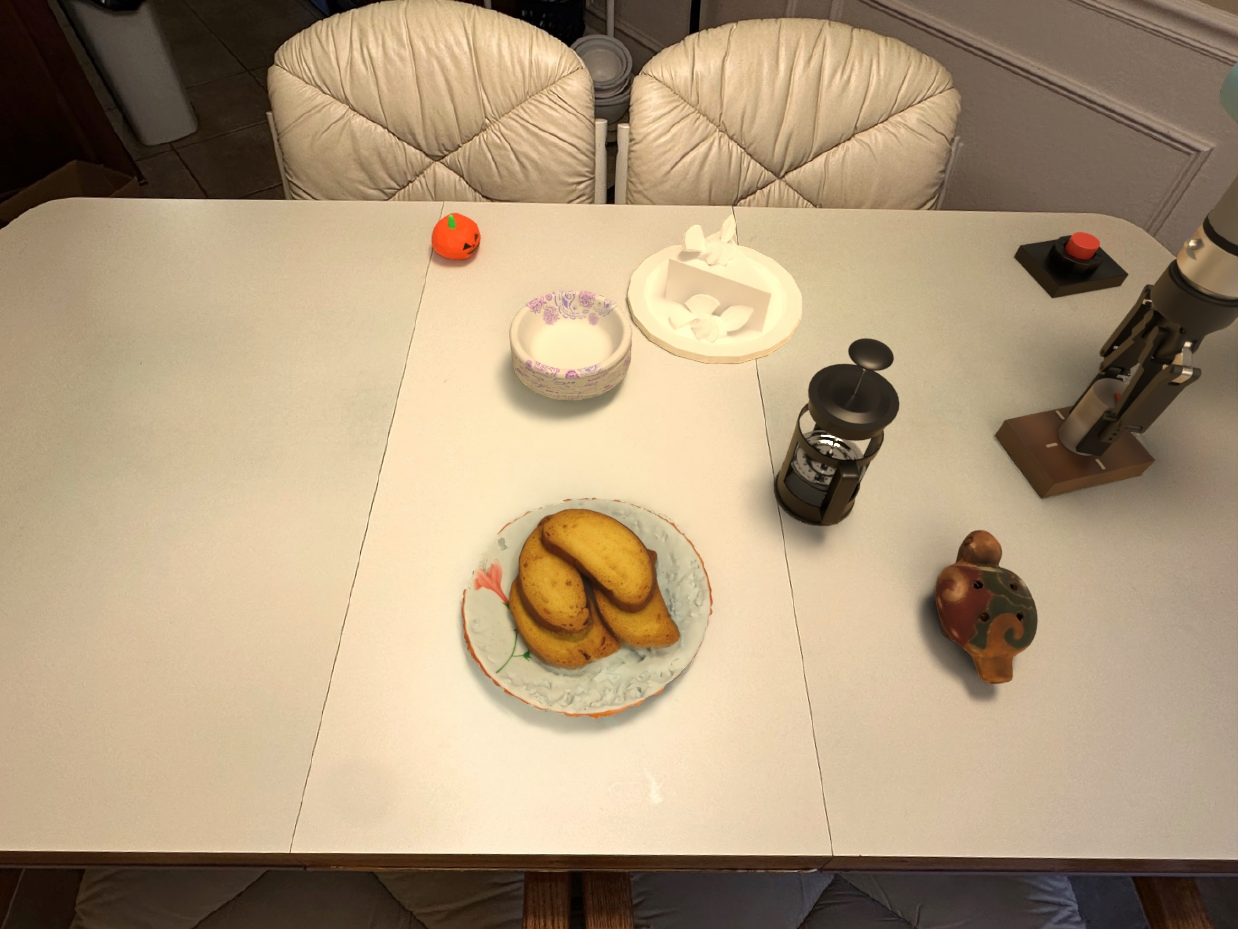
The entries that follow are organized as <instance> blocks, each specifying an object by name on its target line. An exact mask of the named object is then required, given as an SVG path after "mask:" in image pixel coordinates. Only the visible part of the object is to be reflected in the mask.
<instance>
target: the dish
mask: <svg viewBox="0 0 1238 929" xmlns="http://www.w3.org/2000/svg"><path fill="white" fill-rule="evenodd" d="M736 228H737V223H736V219H735V216H734V214H733V213H732V214H730V215H728V217H727V218H725V220H724V221H723V224H722V225H721V229H719V230H718V231H715V232H714V233H712V234H710V235H708V236H707V237H705V235H704V232H703V229H702V226H701V224H694V225H692V226H690V227H689V228H688V229H686V230H684V233H683V235H682V237H681V238H682V239H681V243H679V244H674V245H669V246H667V247H664V248H663V249H661V250H659V251H657V252H656V253H653V254H652V255H650V256H648V257H646V258H645V259H644V260H643V262H641V264H640V265H639V266H638V267H637V268H636V269H635V270H634V272H633V273H632V274H631V278H630V282H629V287H628V291H627V304H628V308H629V311H630V315H631V319H632V322H633V323H634V324H635V326H637V327H638V329H639V330H640V331H641V332H642V333H643V335H645V337H646V338H647V339H648V340H649V341H650V342H652V343H654V344H655V345H657V346H658V347H661V348H662V349H664V350H666V351H668V352H669V353H671V354H673V355H674V356H677V357H681V358H685V359H688V360H692V361H696V362H701V363H704V364H741V363H745V362H749V361H752V360H757V359H760V358H763V357H768V356H769V355H771V354H772V353H774V352H775V351H776V350H778V349H780V348H781V347H782V346H784V345H785V344H787V343H788V342H790V340H791V338H792V336H793V335H794V333H795V331H796V330H797V328H798V326H799V325H800V323H801V319H802V316H803V295H802V292H801V290H800V289H799V286H798V285H797V283H796V281H795V279H794V277H793V275H792V274H790V272H788V271H787V270H786V269H785V268H784V267H783V266H781V265H780V264H779V263H778V262H777V261H776V260H775V259H774V258H771V257H769V256H768V255H765V254H763V253H761V252H759V251H757V250H754V249H753V248H751V247H747V246H743V245H739V244H737V243H736V242H735V240H734V239H733V236H734V234H736Z"/></svg>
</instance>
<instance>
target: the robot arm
mask: <svg viewBox="0 0 1238 929" xmlns="http://www.w3.org/2000/svg"><path fill="white" fill-rule="evenodd" d="M1218 95H1219V96H1218V99H1219V105H1220V106H1221V108H1222V110H1223V111H1224V112H1225V113H1226V114H1227V115H1228V116H1229V117H1230V118H1231V119H1232V120H1233V121H1234V122H1235V123H1236V124H1237V125H1238V61H1236V62H1235V64H1234V65H1233V66H1232V67H1231V68H1230V70H1229V71H1228V73H1227V74H1226V76H1225V78H1224V79H1223V82H1222V84H1221V88H1220V89H1219V94H1218ZM1236 319H1238V174H1236V177H1235V178H1234V179H1233V180H1232V182H1231V183H1230V184H1229V186H1228V188H1227V189H1226V190H1225V192H1224V193H1223V194H1222V196H1221V197H1220V199H1219V200H1218V201H1217V203H1216V204H1215V205H1214V207H1213V208H1212V209H1211V210H1210V211H1209V212H1208V213H1207V215H1206V216H1205V218H1204V219H1203V221H1202V222H1201V223H1200V225H1199V226H1198V227H1197V228H1196V230H1195V231H1194V232H1193V234H1192V235H1191V236H1190V237H1189V238H1187V239H1186V240H1184V242H1183V247H1182V248H1181V249H1180V251H1179V252H1178V254H1177V256H1176V258H1175V259H1173V260H1172V261H1170V263H1169V264H1168V265H1167V267H1166V268H1165V269H1164V270H1163V272H1162V273H1161V275H1160V276H1159V277H1158V279H1157V280H1156V281H1155V283H1154V284H1148V283H1147V284H1145V285H1144V287H1143V288H1142V291H1141V292H1140V294H1139V295H1138V297H1137V300H1136V302H1134V305H1133V306H1132V307H1131V309H1130V310H1129V311H1128V312H1127V314H1126V315H1125V316H1124V318H1123V319H1122V321H1120V323H1119V324H1118V325H1117V327H1116V328H1115V329H1114V331H1113V332H1112V333H1111V335H1110V336H1109V337H1108V339H1107V340H1106V341H1105V342H1104V344H1103V345H1102V347H1101V348H1100V350H1099V351H1098V355H1099V357H1100V358H1103V360H1101V362H1100V363H1099V366H1098V372H1097V374H1096V375H1095V376H1094V378H1093V379H1092V380H1091V382H1090V383H1089V384H1088V386H1087V387H1086V388H1085V389H1084V391H1083V393H1081V395H1080V396H1079V397H1078V398H1077V400H1076V401H1075V403H1074V404H1073V405H1072V406H1073V407H1072V408H1071V409H1070V410H1069V414H1071V413H1072V411H1073V410H1074V409H1075V408H1076V406H1077V405H1078V404H1079V402H1080V401H1081V400H1082V399H1083V397H1084V396H1085V395H1086V393H1087V392H1088V391H1089V390H1090V388H1091V387H1092V386H1093V384H1094V383H1095V382H1096V381H1098V380H1100V379H1104V378H1111V379H1116V380H1120V381H1122V382H1124V383H1125V381H1124V378H1123V377H1128V378H1129V377H1131V379H1130V380H1129V382H1128V383H1127V384H1128V386H1127V387H1126V389H1125V391H1124V392H1123V394H1122V396H1121V397H1120V399H1119V400H1118V402H1117V404H1116V405H1115V407H1114V409H1113V410H1112V411H1104V412H1103V415H1102V416H1101V417H1100V418H1099V420H1098V421H1097V422H1096V423H1095V424H1094V426H1093V427H1092V428H1091V429H1090V430H1089V432H1088V433H1087V434H1086V435H1085V436H1084V438H1083V439H1082V440H1081V441H1080V442H1079V444H1078V445H1077V446H1076V452H1079V453H1085V454H1090V455H1096V456H1102V454H1103V453H1104V452H1105V451H1106V450H1107V449H1108V448H1109V447H1110V446H1111V444H1113V443H1115V442H1116V441H1117V440H1118V439H1119V438H1120V436H1121V435H1122V434H1123V433H1124V432H1125V431H1129V432H1131V433H1135V434H1142V435H1143V434H1145V433H1146V431H1147V430H1148V429H1149V428H1150V427H1151V426H1152V425H1153V423H1154V422H1155V421H1156V420H1158V418H1159V417H1160V416H1161V415H1162V414H1163V413H1164V412H1165V411H1166V409H1167V408H1168V407H1169V406H1170V405H1171V404H1172V403H1173V402H1174V400H1176V399H1177V397H1178V396H1179V395H1180V394H1181V393H1182V392H1183V391H1184V390H1185V388H1187V387H1188V386H1190V385H1191V384H1193V383H1195V382H1197V381H1198V380H1199V379H1200V378H1201V376H1202V369H1201V368H1200V367H1194V366H1193V355H1194V354H1195V353H1197V351H1198V350H1199V349H1200V346H1201V344H1202V342H1203V340H1204V339H1205V337H1206V336H1208V335H1210V334H1213V333H1215V332H1218V331H1221V330H1225V329H1227V328H1228V327H1230V326H1231V325H1232V324H1233V323H1234V322H1235V321H1236ZM1138 364H1139V365H1138ZM1137 365H1138V367H1137V369H1136V371H1134V374H1133V375H1131V374H1132V369H1133V368H1134V367H1135V366H1137ZM1119 376H1123V377H1119Z"/></svg>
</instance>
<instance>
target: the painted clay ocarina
mask: <svg viewBox="0 0 1238 929" xmlns="http://www.w3.org/2000/svg"><path fill="white" fill-rule="evenodd" d="M1002 548H1003V547H1002V545H1001V543H1000V542H999V540H998V539H997V538H996V536H994V535H993V534H992V533H991V532H990V531H987V530H984V529H977V530H973V531H971V532H969V533H968V534H967V535H966V536H965V538H964V539H963V540H962V541H961V544H960V545H959V548H958V551H957V555H956V559H955V563H953V564H950V565H947V566H946V567H944V568H943V569H942V570H941V571H940V573H939V575H938V576H937V578H936V583H935V589H934V591H935V592H934V597H935V598H934V599H935V605H936V610H937V615H938V618H939V622H940V629H941V633H942V634H943V635H944V638H947V639H948V640H949V641H953V642H955V643H956V644H957V645H958V646H959V647H961V649H963V650H964V651H966V652H967V653H968V654H969V655H970V657H971V658H972V660H973V664H974V666H975V669H976V672H977V675H978V677H979V679H980V680H981V681H982V682H984V683H987V684H990V685H1001V684H1006V683H1009V682H1011V681H1013V678H1014V668H1013V665H1014V664H1013V661H1014V658H1015V657H1016V656H1017V655H1018V654H1021V653H1023V652H1024V651H1026V650H1027V649H1028V648H1029V647H1030V645H1031V644H1032V643H1033V641H1034V640H1035V637H1036V634H1037V630H1038V622H1039V620H1038V609H1037V606H1036V602H1035V599H1034V598H1033V595H1032V592H1031V590H1030V589H1029V587H1028V586H1027V584H1026V583H1025V581H1024V580H1023V579H1022V578H1021V577H1020V576H1019V575H1018V574H1017V573H1015V572H1014V571H1012V570H1010V569H1007V568H1005V567H1002V566H1000V562H1001V560H1002V557H1003V549H1002Z"/></svg>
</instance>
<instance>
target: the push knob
mask: <svg viewBox="0 0 1238 929" xmlns="http://www.w3.org/2000/svg"><path fill="white" fill-rule="evenodd" d="M1071 235H1072V236H1071V238H1070V239H1069V241H1068V242H1067V244H1066V246H1065V251H1066V252H1067V253H1068V254H1070V255H1072V256H1074V257H1076V258H1079V259H1085V260H1087V259H1091V258H1092V257H1093V255H1094V254H1095V252H1096V251H1097V249H1098V247H1099V246H1100V247H1101V242H1100V240H1099V238H1097V237H1096V236H1095V235H1093V234H1090V233H1088V232H1083V231H1078V232H1074V233H1072V234H1071Z"/></svg>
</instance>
